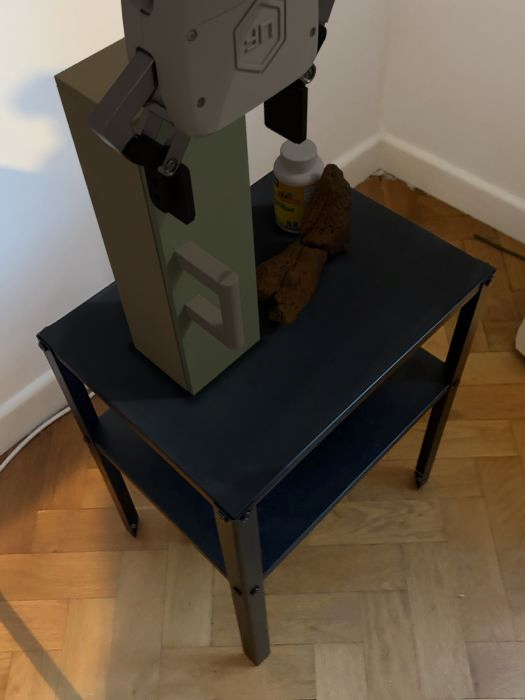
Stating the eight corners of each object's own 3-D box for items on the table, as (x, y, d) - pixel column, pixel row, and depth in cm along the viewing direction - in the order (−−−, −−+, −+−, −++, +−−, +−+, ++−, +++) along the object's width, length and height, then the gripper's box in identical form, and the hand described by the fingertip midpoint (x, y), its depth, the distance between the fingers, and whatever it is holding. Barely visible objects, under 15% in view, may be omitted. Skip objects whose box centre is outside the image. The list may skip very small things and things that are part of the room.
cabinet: (253, 335, 75) (232, 59, 50) (187, 391, 72) (127, 123, 46) (201, 295, 79) (156, 18, 54) (134, 347, 75) (53, 75, 50)
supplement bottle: (265, 214, 86) (262, 143, 78) (305, 196, 88) (306, 125, 79) (291, 243, 83) (290, 172, 75) (331, 224, 85) (335, 153, 76)
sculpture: (372, 172, 73) (260, 251, 68) (387, 256, 79) (286, 333, 74) (318, 155, 78) (210, 227, 73) (336, 235, 85) (239, 305, 80)
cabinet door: (302, 370, 72) (305, 100, 47) (235, 431, 69) (200, 172, 44) (255, 335, 75) (235, 62, 50) (188, 392, 71) (130, 127, 46)
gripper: (108, -37, 26) (169, 279, 40) (401, -180, 33) (367, 130, 47) (-10, -97, 29) (84, 215, 43) (280, -216, 36) (282, 85, 50)
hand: (232, 171), depth 45 cm, fingers open, 9 cm apart
